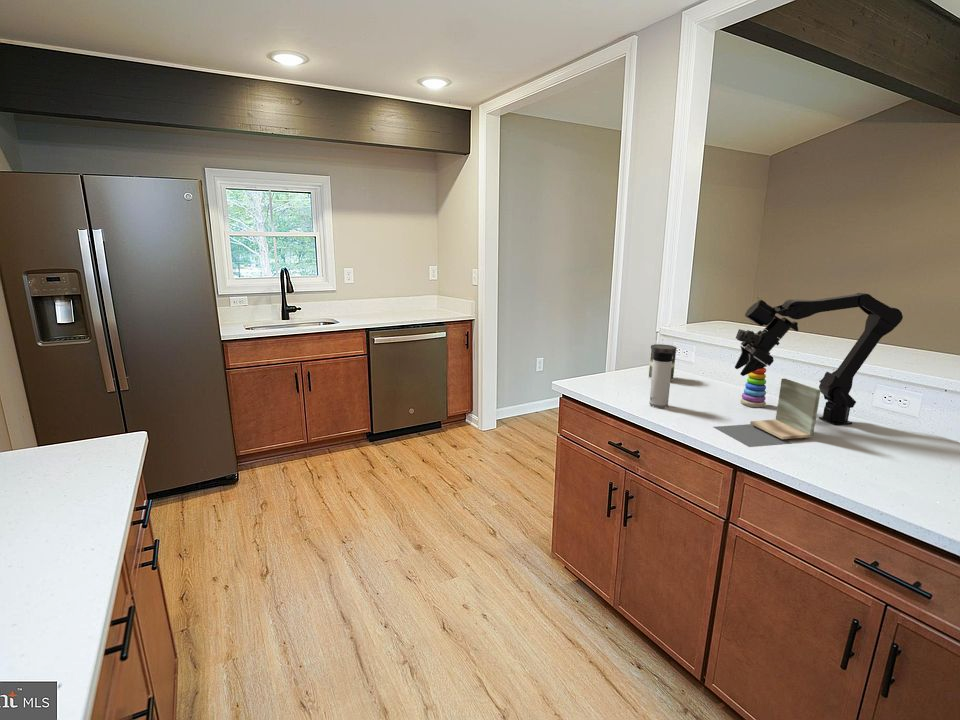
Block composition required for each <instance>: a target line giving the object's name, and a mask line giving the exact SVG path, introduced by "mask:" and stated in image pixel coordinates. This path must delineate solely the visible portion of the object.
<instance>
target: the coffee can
mask: <svg viewBox="0 0 960 720" xmlns="http://www.w3.org/2000/svg"><path fill="white" fill-rule="evenodd" d="M677 349H678V348H677V347H676V346H674V345H671V344H670V345H669V344H662V343H661V344H660V343H657V344H651V345H650V355H649V367H648V377H649V378H650V379H649V378H648V379H649V380H651V378H652V366H653V357H654V352H655V351H658V352H670V353H673V355H672V368H671V378H670V380H672V381H674V374H675V363H676V362H675V361H676V354H677Z"/></svg>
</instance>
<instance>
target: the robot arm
mask: <svg viewBox="0 0 960 720" xmlns="http://www.w3.org/2000/svg"><path fill="white" fill-rule="evenodd" d="M853 308H859V309H860V310H861V311H862V312H863V313H865V314H866V315H867V318H866V320H865V326H864V330H863V332H862V333H861V334H860V337H859V338H858V339H857V340H856V342H855V343H854V345H853V346H852V348H851V349H850V351H848V354H847V355H846V356H845V358H844V359H843V361H842V362H841V363H840V365H839V367H838V368H837V369H836V370H834V371H833V372H829V371H826V372H825V373H824V376H823V378H821V380H820V379H819V383H820V384H819V386H818V388H819V389H818V390H821V392H820V394H822V395H823V397H824V400H826V402H825V406H824V407H823V413H822V416H819V417H818V419H819V420H821V421H823V422H827V423H829V424H831V425H834V426H835V425H836V426H839V425H840V426H841V425H842V426H843V425H852V424H853V421H850V420H849V414H850V410H851V408H852V409H853V408H854V407H855V405H856V404H857V401H856V400H855V399H854V397H852V396H851V395H850V392H851V390H852V388H853V381H854V377H855V376H856V374H857V373H858V371H859V370H860V369H861V367H862V366H863V364H864V363H865V361H866V360H867V359H868V357H870V356H869V355H871V353H872V352H873V350H874V349H875V348H876V346H877V344H878V343H879V342H880V340H881V339H882V338H883V337H885V336H886V335H888V334H889V333H891V332H892V331H893V330H894V329H895V328H897V326H899V324H900V323H901V322H902V321H903V319H904V315H903V313H902V310H900V309H899V308H895V307H891V306H889V305H888V304H885V303H883V302H882V301H881V300H878V299H877V298H875V297H873V296H872V295H871V294H869V293H865V292H856V293H854V294H846V295H839V296H833V297H827V298H826V297H825V298H819V299H796V298H795V299H792V298H791V299H787V300H785V301H784V302H783V303H782V304H779V305H777V306H773V307H772V306H771V305H770V304H767V303H766V301H765V300H763V299H758V300H757V302H755V303H753V304H752V305H751V306H749V308H748V309H747V310H746V312H745V314H744V316H745V317H746V318H747V319H749V320H750V321H751V322H753V323H755V324H757V325H758V326H760V327H762V326H765V328H764V329H763V330H758V331H757V332H756V333H755V332H754V331H753V330H749V329H747V330H745V329H740V328H738V330H737V333H736V336H735V339H736V340H737V341H739V342H741V343H740V349H741V351H740V352H741V353H740V355H739V358H738V359H737V362H736V363H735V366H734V369H736V370H739V369H741V368H742V370H741V372H740V373H739V374H740V376H742V377H744V376H748V374H749V373H751V372H753V371H756V370H758V369H761V368H763V367H764V368H766V367H770V366H771V365H772V364H773V363H774V361H775V360H774V357H773V356H772V355H771V350H772V349H773V348H774V347H775V346H779V345H780V340H781V339H783V337H784V336H786V334H787V333H788V332H789V331H790V330H793V331H795V332H799V326H798V322H797V321H791V320H789V319H792V320H801V319H805V318H808V317H812V316H814V315H815V314H818V313H823V312H824V313H825V312H831V311H838V310H846V309H853ZM776 315H779V316H780V317H781V316H782V317H781V318H780V317H778V316H776ZM788 318H789V319H788ZM766 364H767V365H766Z"/></svg>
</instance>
